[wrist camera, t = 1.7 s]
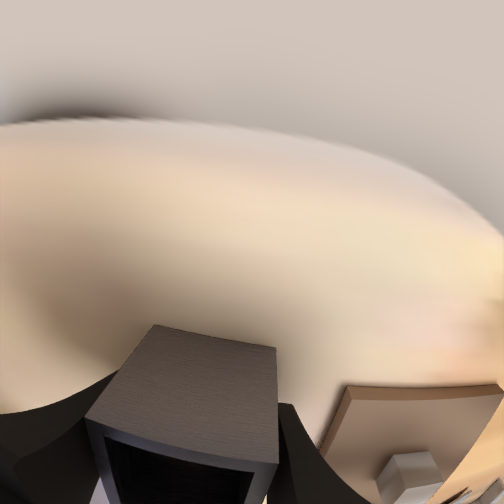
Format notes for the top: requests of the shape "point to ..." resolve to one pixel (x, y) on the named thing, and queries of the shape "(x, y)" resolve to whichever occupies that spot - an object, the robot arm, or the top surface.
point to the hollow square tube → (188, 422)
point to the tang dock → (405, 438)
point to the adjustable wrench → (485, 495)
